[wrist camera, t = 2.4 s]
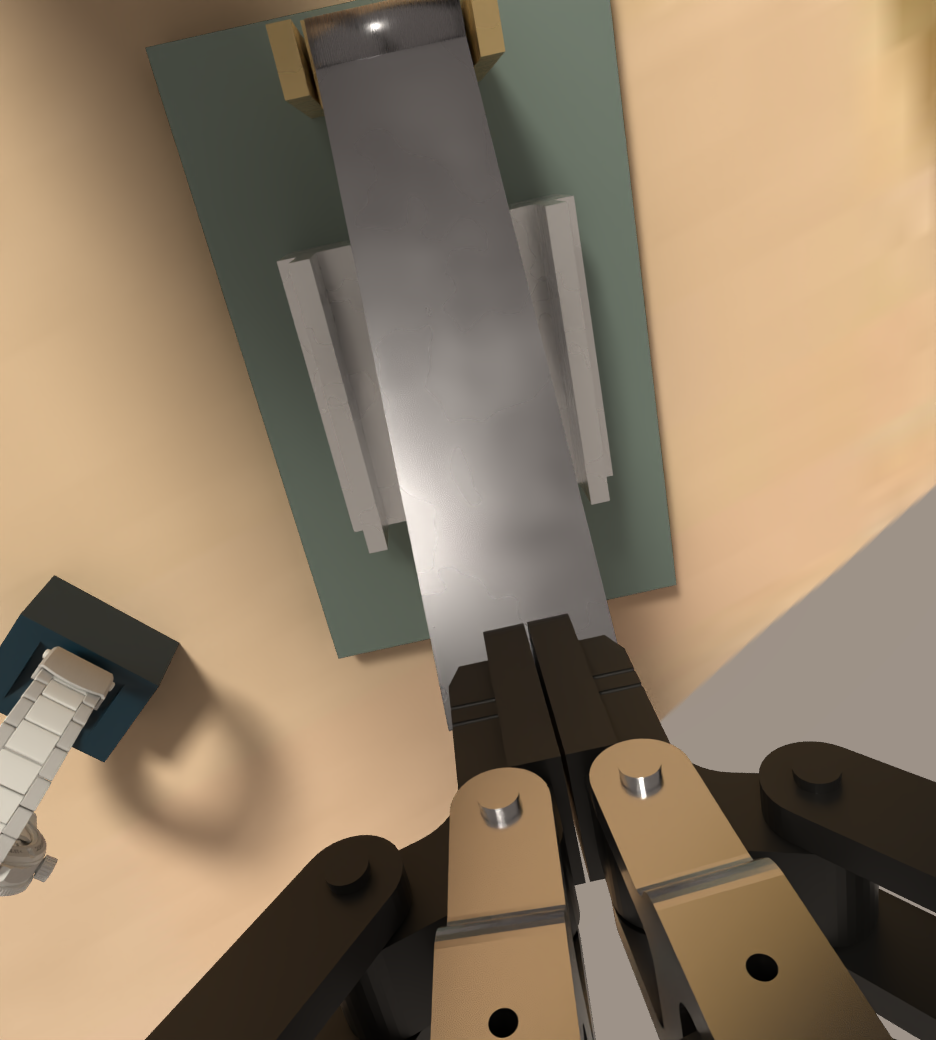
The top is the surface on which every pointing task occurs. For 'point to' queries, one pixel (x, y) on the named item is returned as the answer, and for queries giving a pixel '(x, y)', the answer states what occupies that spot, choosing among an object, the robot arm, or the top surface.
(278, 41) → the clip posts
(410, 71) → the strap
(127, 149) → the top surface
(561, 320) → the heat sink
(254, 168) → the board
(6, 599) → the top surface
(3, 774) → the watch
